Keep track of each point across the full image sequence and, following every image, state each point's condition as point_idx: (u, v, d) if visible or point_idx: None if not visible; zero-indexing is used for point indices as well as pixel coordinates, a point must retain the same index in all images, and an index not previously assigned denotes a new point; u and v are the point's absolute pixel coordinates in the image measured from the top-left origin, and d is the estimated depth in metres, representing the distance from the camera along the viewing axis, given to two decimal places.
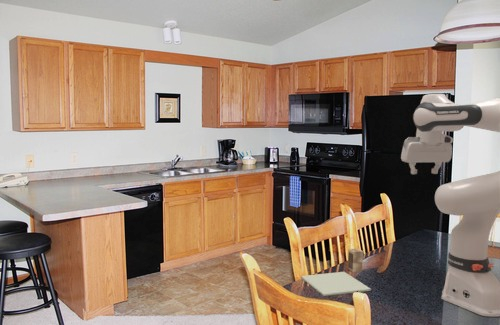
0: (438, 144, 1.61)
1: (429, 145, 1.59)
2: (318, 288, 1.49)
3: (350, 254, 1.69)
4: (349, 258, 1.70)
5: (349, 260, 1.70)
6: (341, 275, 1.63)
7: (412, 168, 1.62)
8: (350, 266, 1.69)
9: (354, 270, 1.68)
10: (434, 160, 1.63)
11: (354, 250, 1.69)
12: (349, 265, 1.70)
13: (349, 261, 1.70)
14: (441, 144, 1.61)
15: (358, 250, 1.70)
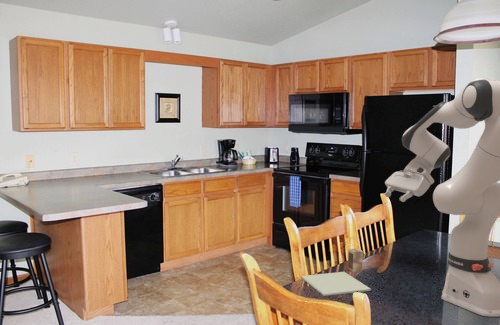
0: None
1: (405, 172, 1.75)
2: (318, 288, 1.49)
3: (350, 254, 1.69)
4: (349, 258, 1.70)
5: (349, 260, 1.70)
6: (341, 275, 1.63)
7: None
8: (350, 266, 1.69)
9: (354, 270, 1.68)
10: (403, 186, 1.71)
11: (354, 250, 1.69)
12: (349, 265, 1.70)
13: (349, 261, 1.70)
14: (414, 173, 1.70)
15: (358, 250, 1.70)
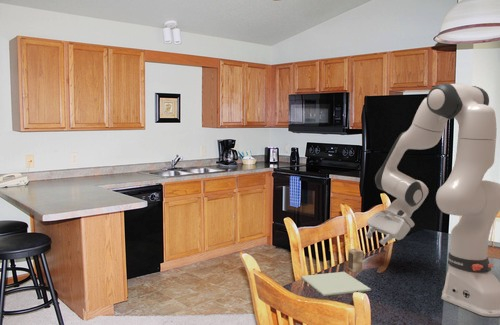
0: None
1: (386, 214, 1.75)
2: (318, 288, 1.49)
3: (350, 254, 1.69)
4: (349, 258, 1.70)
5: (349, 260, 1.70)
6: (341, 275, 1.63)
7: None
8: (350, 266, 1.69)
9: (354, 270, 1.68)
10: (384, 228, 1.70)
11: (354, 250, 1.69)
12: (349, 265, 1.70)
13: (349, 261, 1.70)
14: (395, 216, 1.70)
15: (358, 250, 1.70)
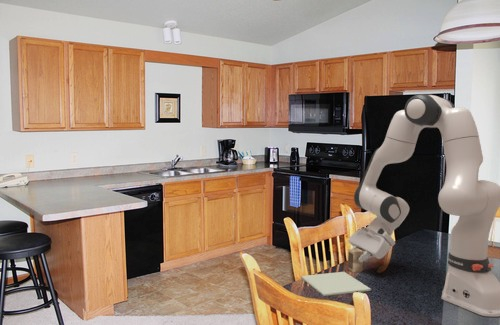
0: None
1: (367, 232, 1.73)
2: (318, 288, 1.49)
3: (350, 254, 1.69)
4: (349, 258, 1.70)
5: (349, 260, 1.70)
6: (341, 275, 1.63)
7: None
8: (350, 266, 1.69)
9: (354, 270, 1.68)
10: (364, 247, 1.68)
11: (354, 250, 1.69)
12: (349, 265, 1.70)
13: (349, 261, 1.70)
14: (375, 234, 1.68)
15: (358, 250, 1.70)
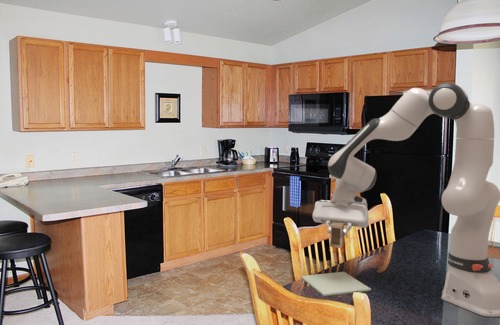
0: (350, 204, 1.60)
1: (337, 203, 1.61)
2: (318, 288, 1.49)
3: (335, 229, 1.54)
4: (334, 234, 1.54)
5: (333, 237, 1.55)
6: (341, 275, 1.63)
7: (327, 226, 1.59)
8: (336, 242, 1.54)
9: (341, 245, 1.55)
10: (346, 219, 1.57)
11: (337, 224, 1.55)
12: (334, 242, 1.55)
13: (334, 237, 1.55)
14: (352, 203, 1.60)
15: (339, 223, 1.57)
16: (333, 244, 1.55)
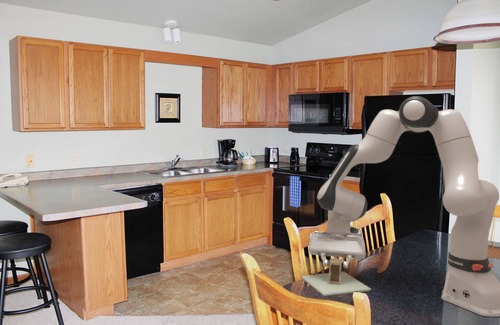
0: (345, 236, 1.60)
1: (333, 234, 1.60)
2: (318, 288, 1.49)
3: (335, 266, 1.53)
4: (333, 271, 1.53)
5: (333, 273, 1.53)
6: (341, 275, 1.63)
7: (322, 259, 1.57)
8: (335, 279, 1.53)
9: (340, 282, 1.53)
10: (343, 251, 1.56)
11: (336, 260, 1.54)
12: (333, 278, 1.53)
13: (333, 274, 1.53)
14: (348, 235, 1.59)
15: (337, 259, 1.55)
16: (332, 281, 1.53)
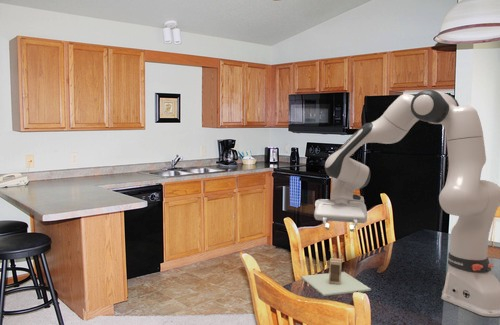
0: (349, 202, 1.71)
1: (337, 201, 1.72)
2: (318, 288, 1.49)
3: (335, 266, 1.53)
4: (333, 271, 1.53)
5: (333, 273, 1.53)
6: (341, 275, 1.63)
7: (324, 223, 1.69)
8: (335, 279, 1.53)
9: (340, 282, 1.53)
10: (346, 216, 1.68)
11: (336, 260, 1.54)
12: (333, 278, 1.53)
13: (333, 274, 1.53)
14: (351, 201, 1.71)
15: (337, 259, 1.55)
16: (332, 281, 1.53)
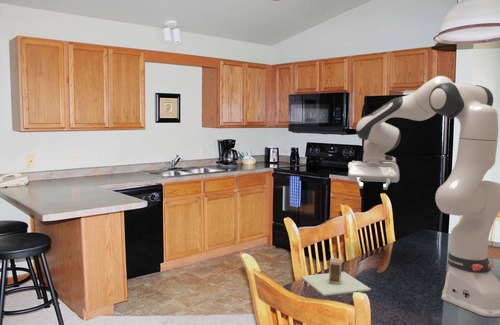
0: (381, 163, 1.80)
1: (370, 162, 1.80)
2: (318, 288, 1.49)
3: (335, 266, 1.53)
4: (333, 271, 1.53)
5: (333, 273, 1.53)
6: (341, 275, 1.63)
7: (358, 182, 1.78)
8: (335, 279, 1.53)
9: (340, 282, 1.53)
10: (380, 175, 1.76)
11: (336, 260, 1.54)
12: (333, 278, 1.53)
13: (333, 274, 1.53)
14: (383, 162, 1.79)
15: (337, 259, 1.55)
16: (332, 281, 1.53)
